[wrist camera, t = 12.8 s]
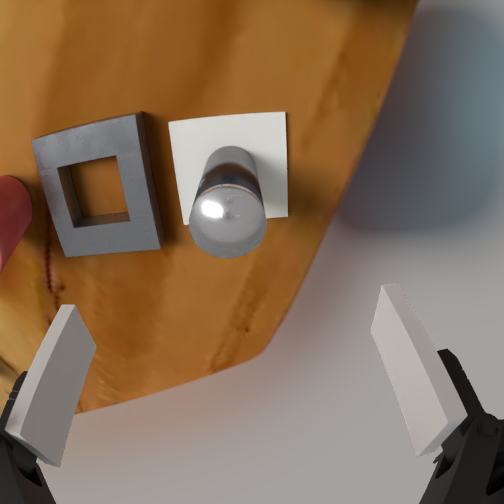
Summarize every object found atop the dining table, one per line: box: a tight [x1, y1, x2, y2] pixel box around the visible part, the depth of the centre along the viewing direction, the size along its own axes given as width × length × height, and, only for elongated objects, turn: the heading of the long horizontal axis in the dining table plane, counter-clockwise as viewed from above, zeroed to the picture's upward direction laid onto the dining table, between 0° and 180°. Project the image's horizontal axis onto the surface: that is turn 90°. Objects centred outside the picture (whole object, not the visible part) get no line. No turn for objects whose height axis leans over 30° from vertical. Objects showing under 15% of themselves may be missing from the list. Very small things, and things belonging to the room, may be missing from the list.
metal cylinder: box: [189, 146, 267, 258], centre depth 26 cm, size 5×5×12 cm
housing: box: [32, 111, 165, 257], centre depth 30 cm, size 14×12×2 cm
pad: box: [168, 112, 288, 225], centre depth 31 cm, size 11×11×1 cm
